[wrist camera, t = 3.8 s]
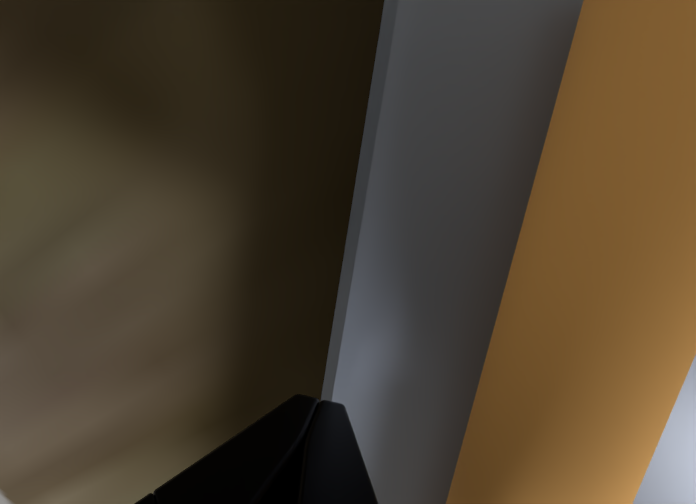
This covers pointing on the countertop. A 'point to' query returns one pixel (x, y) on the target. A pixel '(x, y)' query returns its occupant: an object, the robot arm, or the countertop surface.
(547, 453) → the tan cylindrical rod
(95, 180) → the countertop surface
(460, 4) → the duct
